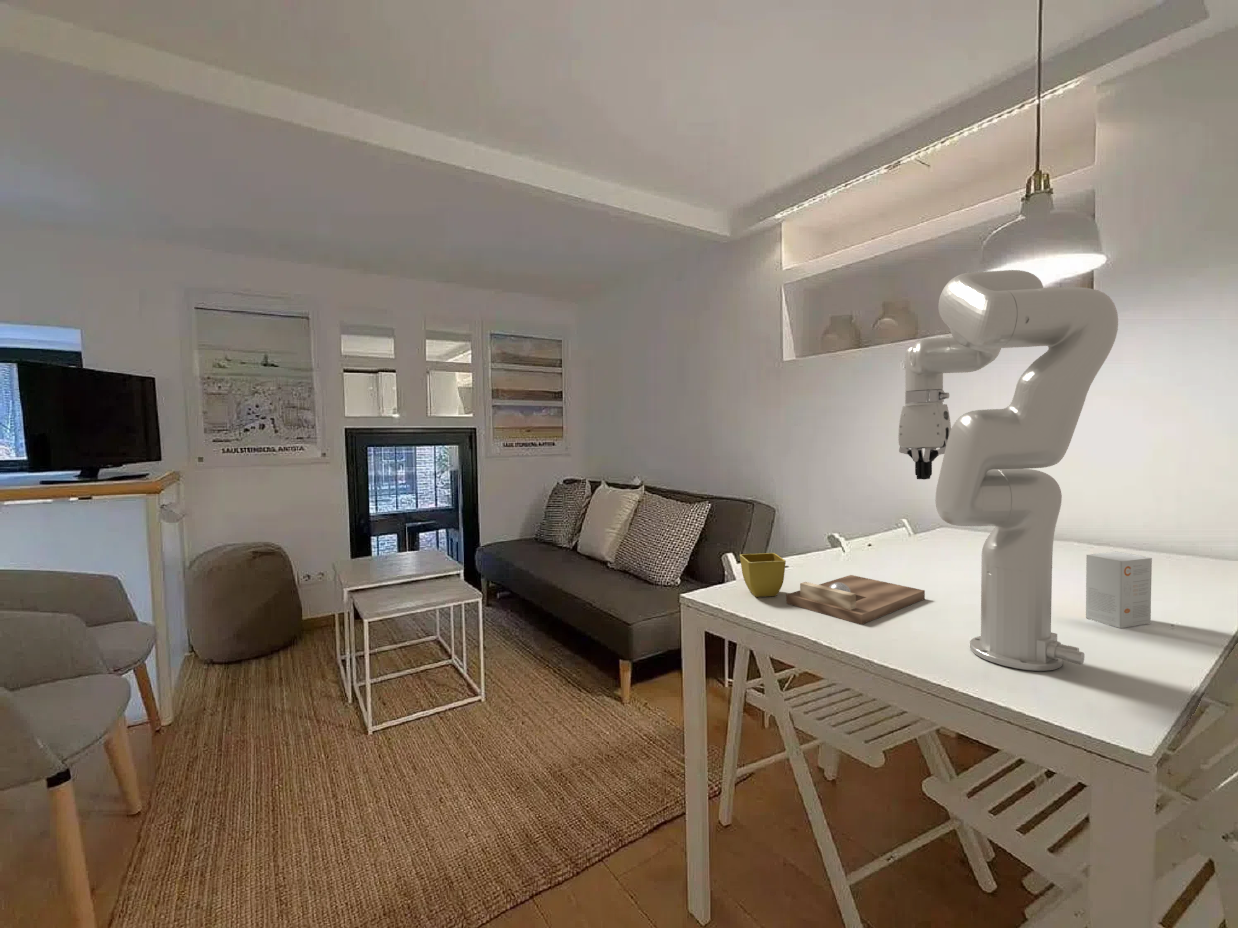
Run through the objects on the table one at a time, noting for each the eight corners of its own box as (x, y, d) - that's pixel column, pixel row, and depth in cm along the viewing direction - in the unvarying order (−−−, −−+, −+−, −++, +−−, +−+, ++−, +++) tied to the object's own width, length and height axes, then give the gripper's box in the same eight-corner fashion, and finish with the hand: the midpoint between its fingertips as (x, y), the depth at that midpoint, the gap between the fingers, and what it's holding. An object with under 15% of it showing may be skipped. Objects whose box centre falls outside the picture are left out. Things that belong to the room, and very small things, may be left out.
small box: (1114, 613, 110) (1115, 550, 109) (1151, 624, 103) (1153, 557, 103) (1084, 618, 108) (1085, 553, 107) (1120, 628, 102) (1122, 560, 101)
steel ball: (839, 605, 116) (849, 611, 119) (849, 584, 116) (859, 591, 119) (819, 596, 120) (829, 602, 123) (829, 575, 120) (839, 582, 123)
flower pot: (749, 600, 125) (748, 561, 124) (739, 589, 133) (739, 553, 133) (786, 599, 125) (786, 560, 124) (774, 588, 134) (774, 552, 133)
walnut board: (924, 598, 122) (924, 577, 122) (861, 624, 107) (861, 599, 107) (850, 582, 137) (850, 563, 137) (786, 603, 122) (786, 581, 121)
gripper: (967, 397, 120) (966, 479, 121) (899, 401, 132) (899, 476, 133) (951, 396, 115) (951, 481, 116) (883, 401, 127) (883, 478, 128)
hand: (923, 478), depth 124 cm, fingers closed
